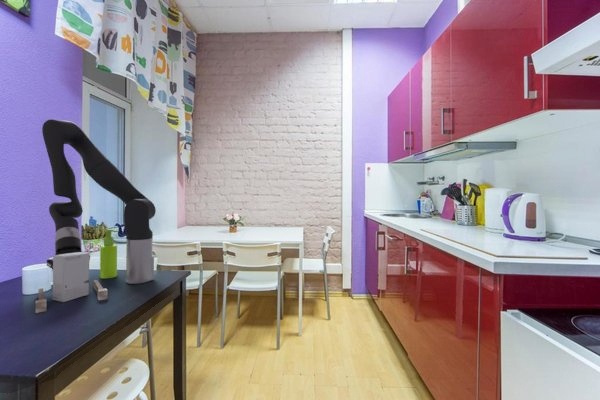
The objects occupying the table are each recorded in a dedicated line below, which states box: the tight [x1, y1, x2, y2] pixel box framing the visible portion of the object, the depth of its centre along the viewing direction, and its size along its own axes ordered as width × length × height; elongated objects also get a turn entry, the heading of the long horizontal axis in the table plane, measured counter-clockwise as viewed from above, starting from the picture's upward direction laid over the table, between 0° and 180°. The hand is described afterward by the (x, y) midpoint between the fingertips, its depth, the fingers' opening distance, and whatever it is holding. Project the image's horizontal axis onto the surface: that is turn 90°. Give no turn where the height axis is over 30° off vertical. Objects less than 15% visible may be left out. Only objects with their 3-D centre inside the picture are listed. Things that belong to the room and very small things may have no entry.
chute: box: [35, 279, 109, 314], centre depth 95 cm, size 18×18×3 cm
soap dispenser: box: [99, 228, 120, 280], centre depth 120 cm, size 6×7×20 cm
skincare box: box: [51, 251, 90, 303], centre depth 96 cm, size 8×6×15 cm
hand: (70, 281), depth 99 cm, fingers closed
